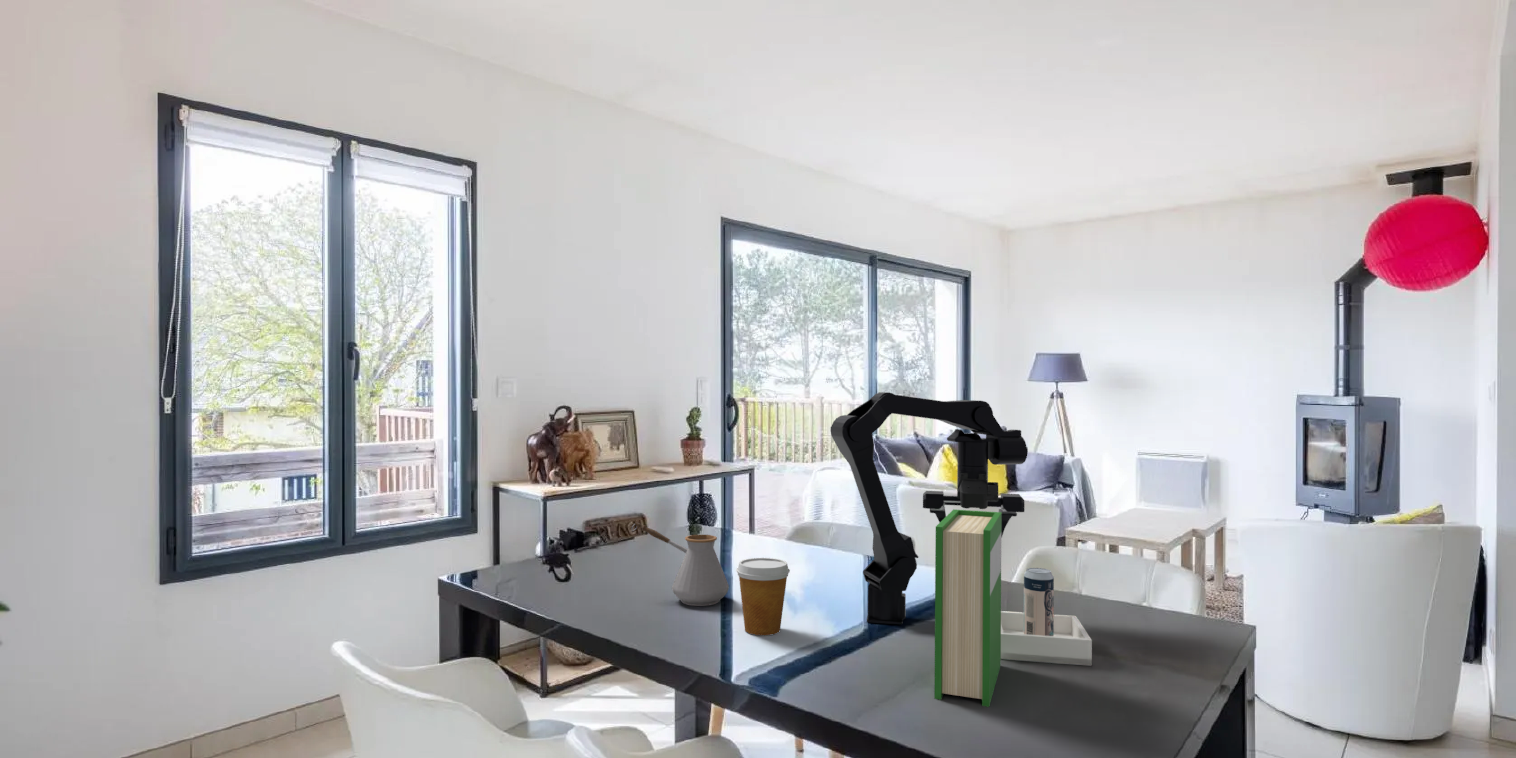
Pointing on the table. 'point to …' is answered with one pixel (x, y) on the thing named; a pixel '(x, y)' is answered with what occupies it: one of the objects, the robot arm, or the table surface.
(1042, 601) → the beer can
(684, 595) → the coffee pot
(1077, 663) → the bin
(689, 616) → the table surface
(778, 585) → the disposable coffee cup
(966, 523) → the hardback book
